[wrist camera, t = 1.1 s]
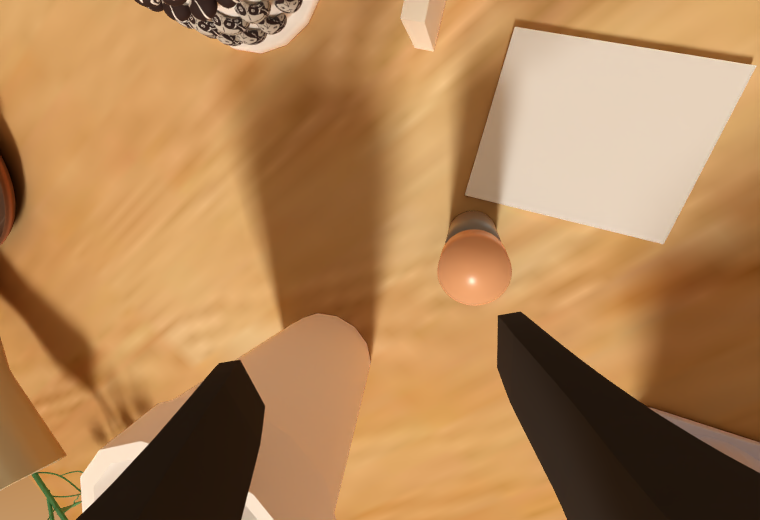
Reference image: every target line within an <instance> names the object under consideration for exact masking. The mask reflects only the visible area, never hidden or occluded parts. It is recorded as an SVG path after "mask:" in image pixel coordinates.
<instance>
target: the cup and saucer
mask: <svg viewBox="0 0 760 520" xmlns="http://www.w3.org/2000/svg"><path fill="white" fill-rule="evenodd" d="M14 218H15V195H14V189H13V185H12V181H11V178H10V175H9V172H8V170H7V167H6V165H5V163H4V161H3V159H2V157H1V155H0V245H1V244H2V243H3V242H4V241H5V240H6V238H7V236H8V235H9V233H10V231H11V229H12V226H13V223H14Z"/></svg>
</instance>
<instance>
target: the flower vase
mask: <svg viewBox="0 0 760 520" xmlns="http://www.w3.org/2000/svg"><path fill="white" fill-rule="evenodd" d="M65 456H66V453H65V452H64V450H63V449H62V447H61V446H60V444H59V443H58V441H57V440H56V438H55V437H54V436H53V434H52V433H51V431H50V430H49V428H48V427H47V425H46V424H45V422H44V421H43V419H42V418H41V416H40V415H39V413H38V412H37V410H36V409H35V407H34V406H33V404H32V403H31V401H30V400H29V398H28V397H27V395H26V394H25V392H24V391H23V389H22V388H21V386H20V385H19V383H18V382H17V380H16V379H15V377H14V376H13V374H12V372H11V370H10V369H9V365H8V362H7V358H6V355H5V351H4V348H3V345H2V341H1V338H0V490H2V489H4V488H6V487H8V486H10V485H12V484H14V483H15V482H17V481H19V480H21V479H23V478H25V477H28V476H30V475H32V476H33V478H34V479H35V481H36V482H37V484H38V485H39V487H40V488H41V490H42V491H43V493H44V494H45V496H46V497H47V504H48V510H49V518H50V520H54V515H53V512H54V510H55V511H56V512H57V515H59V517H60V518H61V520H68V519H67V517H66V516H65V514H64V513H65V512H66V511H67V510H69V509H70V508H72V507H74V506H76V505H78V504H80V503H81V502H82V501H80V502H76V503H75V501H74V504H73V505H70V506H67V507H64V508H60V507H59V505H58V504H57V502H56V501H55V499H54V498H53V497H72V496H77V495H78V497H79V495H81V494H77V495H71V496H52V495H51V493H50V490H48V489H47V487H46V486H45V484H44V483H43V481H42V479H41V478H40V476H39V475H38V473H48V474H54V475H57V476H59V477H61V478H63V479H65V480H66V481H68V482H69V483H70V484H71V485H73V486H74V487H75V488H76V489H77V490H78V491H80V492H81V490H80V489H78V488H77V487H76V486H75V485H74V484H72V483H71V482H70V481H69V480H67V479H66V478H64V477H62V475H58V474H55V473H49V472H38V471H40V470H41V469H43V468H45V467H47V466H49V465H51V464H53V463H55V462H57V461H58V460H60V459H62V458H63V457H65ZM73 472H81V473H83V472H82V471H73ZM69 473H72V472H69ZM66 474H68V473H66ZM63 475H65V474H63ZM78 497H77V499H78ZM77 499H76V500H77ZM52 506H53V508H54V510H53V509H52ZM49 518H48V520H49Z"/></svg>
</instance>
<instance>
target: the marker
mask: <svg viewBox="0 0 760 520" xmlns="http://www.w3.org/2000/svg"><path fill="white" fill-rule="evenodd" d="M511 275H512V268H511V263H510V260H509V257H508V255H507V252H506V250H505V248H504V246H503V244H502V243H501V240H500V238H499V235H498V233H497V230H496V227H495V225H494V223H493V221H492V219H491V218H490V217H489V216H487V215H486V214H484V213H482V212H479V211H466V212H463V213H461V214H459V215H458V216H457V217H456V218H455V219H454V220H453V221H452V223H451V225H450V227H449V231H448V235H447V239H446V242H445V246H444V248H443V250H442V253H441V256H440V260H439V264H438V279H439V282H440V285H441V287H442V288H443V290H444V291H445V292H446V293H447V295H449V296H450V297H451V298H452V299H454V300H456V301H458V302H460V303H463V304H467V305H483V304H487V303H490V302H492V301H494V300H496V299H497V298H499V297H500V296H501V295H502V294H503V293H504V292H505V290H506V289H507V287H508V285H509V283H510V280H511Z"/></svg>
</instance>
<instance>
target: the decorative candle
mask: <svg viewBox="0 0 760 520" xmlns="http://www.w3.org/2000/svg"><path fill="white" fill-rule="evenodd" d="M135 1H136V2H137V3H139V4H140V5H142V6H145V7H147V8H149V9H150V10H152V11H156V12H160V11H162V10H164V11H165V13H166V14H167V15H168V16H169V17H170V18H171V19H173V20H176V21H177V22H178V23H179V24H181V25H183V26H184V27H187V28H190V29H195V30H197V31H198V32H200V33H201V34H203V35H205V36H207V37H209V38H213V39H218V40H219V41H220V42H222V43H224V44H226V45H229V46H231V47H232V48H234V49H237V50H243V51H249V52H254V53H260V54H262V53H265V52H268V51H271V50H274V49H277V48H280V47H283V46H285V45H287V44H288V43H289V42H290V41H291V40H292V39H293V38H294V37H295V36H296V35H297V34H298V33H300V32H301V31H302V30H303V29H304V28H305V27H306V26H307V25H308V24H309V21H310V19H311V17H312V15H313V13H314V10H315V8H316V6H317V4H318V2H319V0H135Z"/></svg>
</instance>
